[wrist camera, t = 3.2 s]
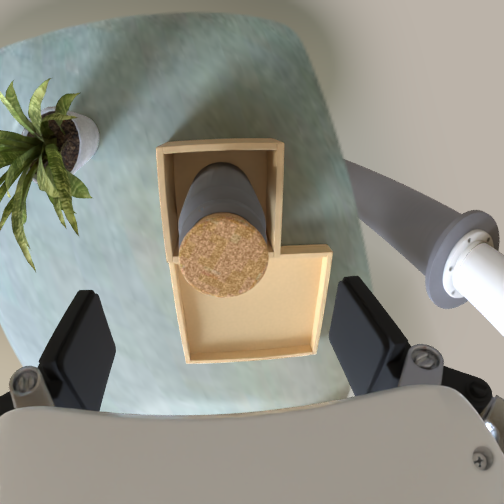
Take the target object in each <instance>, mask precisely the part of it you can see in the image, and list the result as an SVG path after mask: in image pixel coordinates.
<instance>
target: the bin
mask: <svg viewBox="0 0 504 504" xmlns="http://www.w3.org/2000/svg"><path fill="white" fill-rule="evenodd" d="M156 156H157V171H158V184H159V196H160V207H161V216H162V226H163V234H164V243H165V251H166V258H167V262H179V230H178V224H179V218H180V213H181V210H182V207H183V205H184V202H185V199H186V197H187V194H188V192H189V189H190V187H191V184H192V182H193V180H194V178H195V176H196V175H197V173H198V172H199V171H200V170H201V169H203V168H204V167H205V166H207V165H209V164H212V163H216V162H227V163H231V164H233V165H235V166H237V167H239V168H240V169H241V170H242V171H243V172H244V173H245V174H246V176H247V177H248V179H249V181H250V183H251V185H252V187H253V189H254V192H255V194H256V196H257V198H258V200H259V202H260V205H261V207H262V209H263V212H264V216H265V220H266V237H267V248H268V254H269V258H280V251H281V229H282V204H283V173H284V143H283V142H280V141H278V140H275V139H273V138H231V139H203V140H186V141H172V142H166V143H164V144H162V145H160V146H158V147H156Z"/></svg>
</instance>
